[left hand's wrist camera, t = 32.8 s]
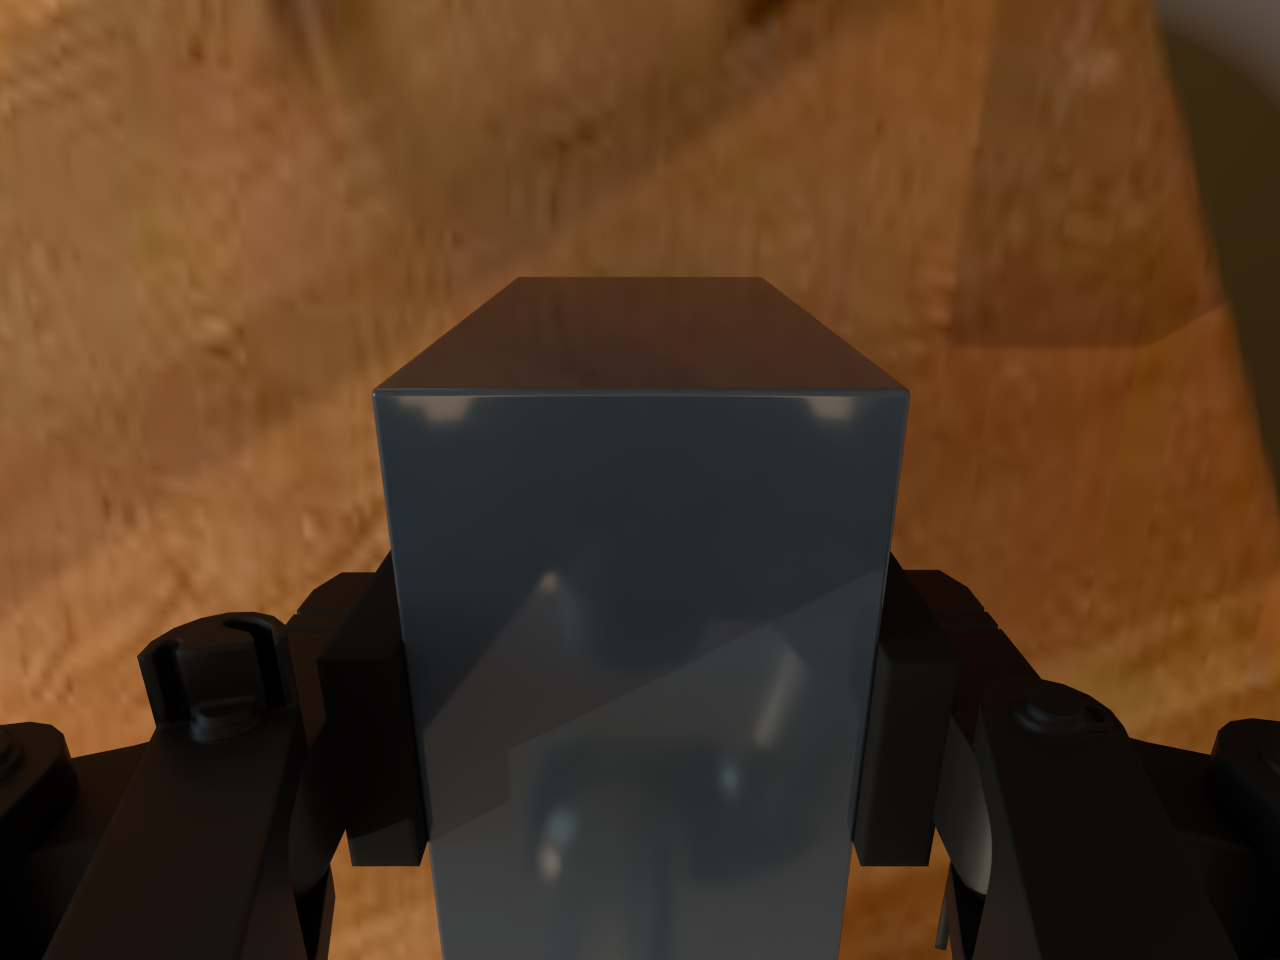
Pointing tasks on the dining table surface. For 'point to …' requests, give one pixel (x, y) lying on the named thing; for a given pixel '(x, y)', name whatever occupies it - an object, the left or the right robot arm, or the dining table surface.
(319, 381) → the dining table surface
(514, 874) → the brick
